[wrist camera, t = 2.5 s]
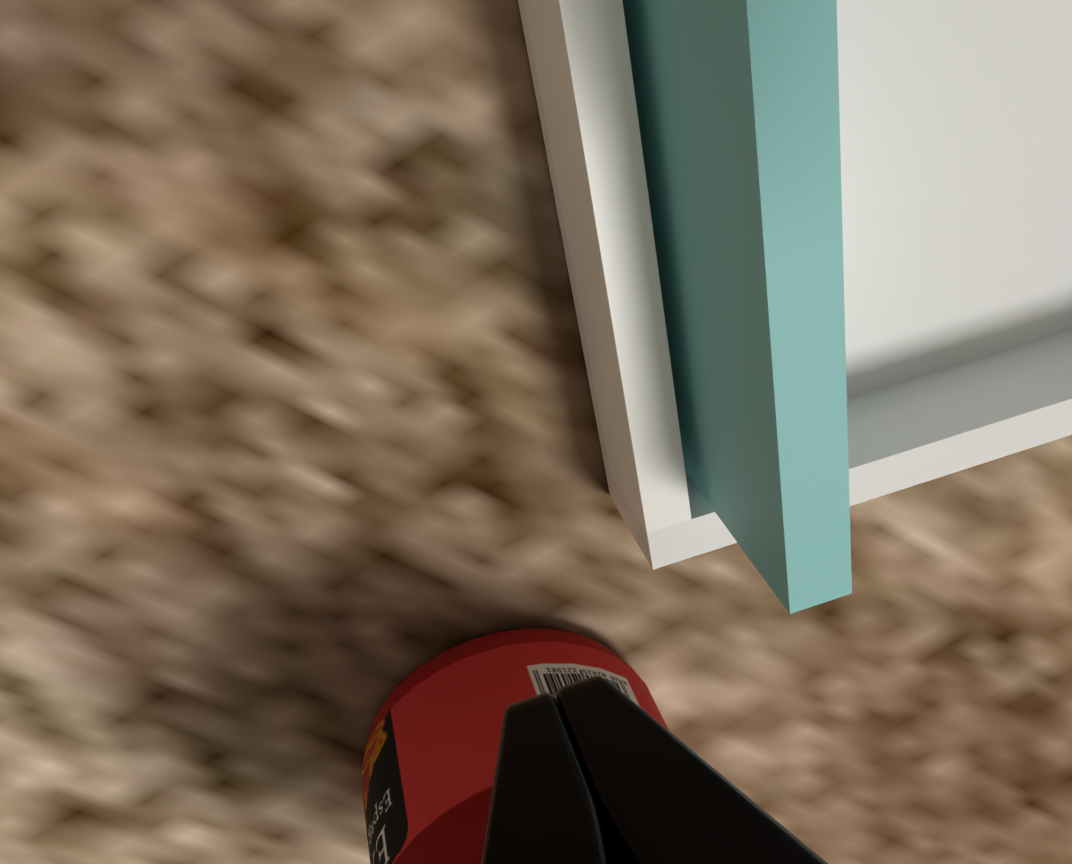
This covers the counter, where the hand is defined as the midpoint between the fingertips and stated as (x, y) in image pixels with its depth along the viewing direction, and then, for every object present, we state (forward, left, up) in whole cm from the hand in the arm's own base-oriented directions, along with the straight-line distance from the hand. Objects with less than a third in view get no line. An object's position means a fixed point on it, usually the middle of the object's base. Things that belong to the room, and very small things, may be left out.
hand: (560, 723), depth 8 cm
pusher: (-6, 0, -12) cm, 13 cm away
